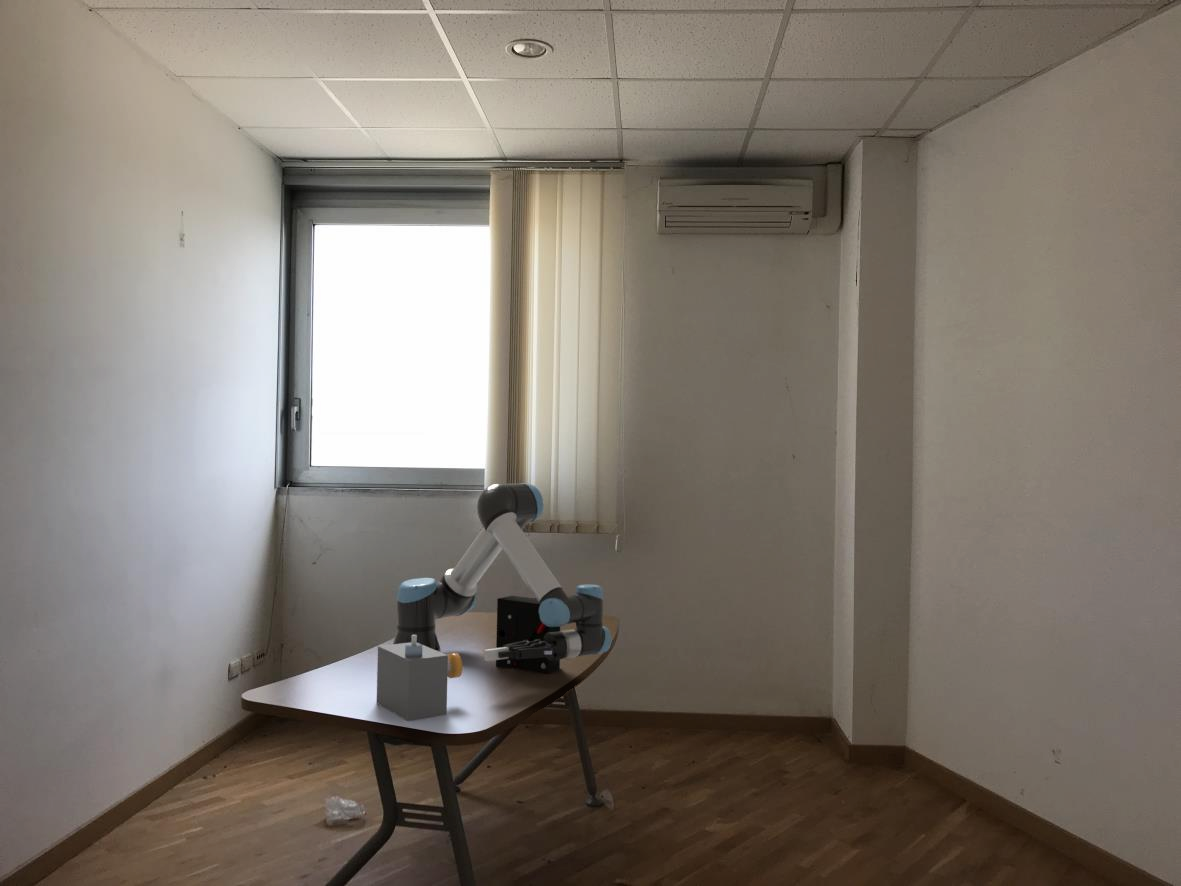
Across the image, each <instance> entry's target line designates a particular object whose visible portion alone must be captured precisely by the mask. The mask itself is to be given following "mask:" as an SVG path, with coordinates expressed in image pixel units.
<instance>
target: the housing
mask: <svg viewBox="0 0 1181 886" xmlns="http://www.w3.org/2000/svg"><path fill="white" fill-rule="evenodd" d="M407 644H411V642H410V643H401V644H393V643H392V644H386V645H378V646H377V671H376V675H377V676H376V704H378V705H380V706H381V707H383V708H384V709H386V710H388V711H390V712H392V713H393V712H394V713H393V714H395V715H397V716H398V715H399V717H400V718H402V719H403V718H404V720H405V721H407V722H410V721H409V720H411V721H415V720H420V719H421V720H422V719H427V718H433V717H434V718H435V717H440V716H444V715H447V711H448V710H447V709H448V708H447V705H448V676H447V675H448V655H447V654H446V653H443V652H439V651H436V650H434V649H431V648H429V647H426V646H424V645H422V656H420V657H406V656H405V645H407ZM417 644H419V643H417Z"/></svg>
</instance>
